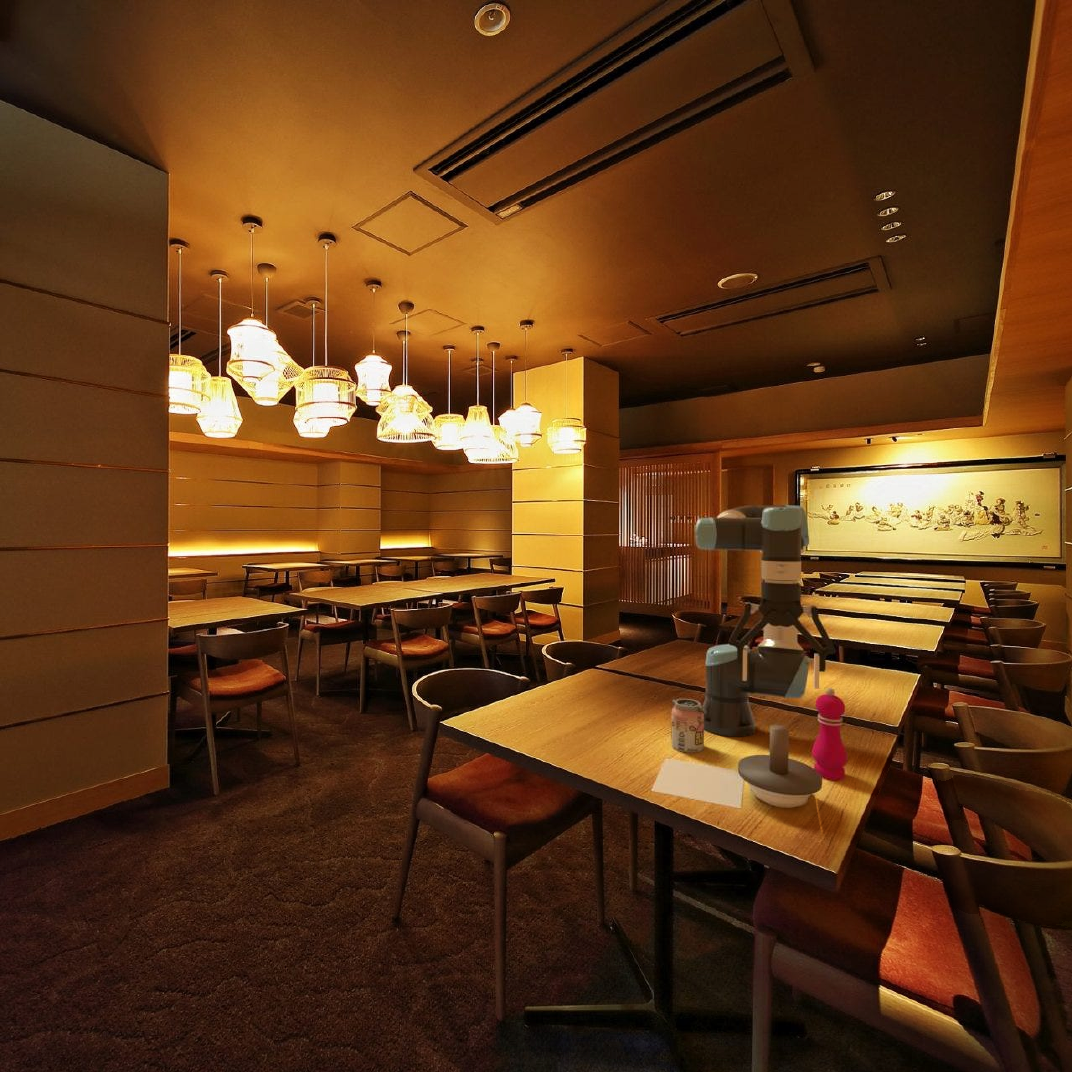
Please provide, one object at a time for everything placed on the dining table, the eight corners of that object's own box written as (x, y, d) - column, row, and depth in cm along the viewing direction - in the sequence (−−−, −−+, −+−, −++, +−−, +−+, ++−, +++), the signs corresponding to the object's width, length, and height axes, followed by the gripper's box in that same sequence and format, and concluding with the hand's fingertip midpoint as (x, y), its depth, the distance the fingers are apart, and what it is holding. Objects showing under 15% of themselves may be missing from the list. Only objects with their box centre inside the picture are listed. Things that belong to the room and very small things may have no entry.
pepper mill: (835, 767, 128) (836, 683, 128) (854, 781, 121) (855, 693, 121) (805, 767, 128) (806, 683, 128) (822, 781, 121) (823, 693, 121)
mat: (665, 760, 132) (665, 758, 132) (744, 774, 125) (744, 771, 125) (650, 793, 115) (650, 790, 115) (740, 811, 108) (740, 808, 108)
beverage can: (680, 738, 146) (680, 694, 145) (711, 746, 140) (711, 701, 140) (665, 749, 138) (665, 702, 138) (696, 758, 133) (697, 710, 133)
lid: (739, 755, 123) (740, 710, 123) (818, 767, 117) (819, 721, 117) (735, 785, 108) (736, 735, 108) (825, 802, 102) (826, 748, 102)
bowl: (746, 781, 121) (746, 758, 121) (811, 792, 116) (811, 769, 116) (743, 808, 109) (744, 783, 109) (815, 822, 104) (816, 796, 104)
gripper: (716, 580, 114) (715, 680, 114) (852, 585, 104) (851, 695, 104) (719, 577, 120) (718, 671, 121) (847, 582, 110) (845, 685, 111)
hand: (779, 683), depth 112 cm, fingers open, 13 cm apart
